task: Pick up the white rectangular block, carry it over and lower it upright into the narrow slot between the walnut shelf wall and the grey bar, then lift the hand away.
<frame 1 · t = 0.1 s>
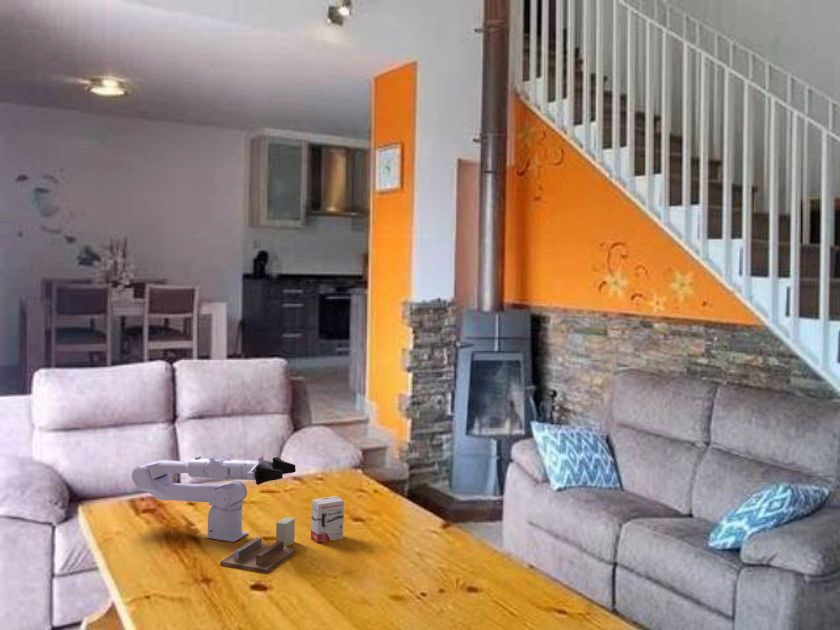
hand: (288, 471, 223), 22 cm above the table, tool horizontal, fingers open, 7 cm apart
ink box: (327, 539, 231), on the table
grey bar: (247, 557, 214), resting on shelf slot
white rectangular block: (285, 544, 225), on the table
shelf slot: (258, 558, 213), on the table
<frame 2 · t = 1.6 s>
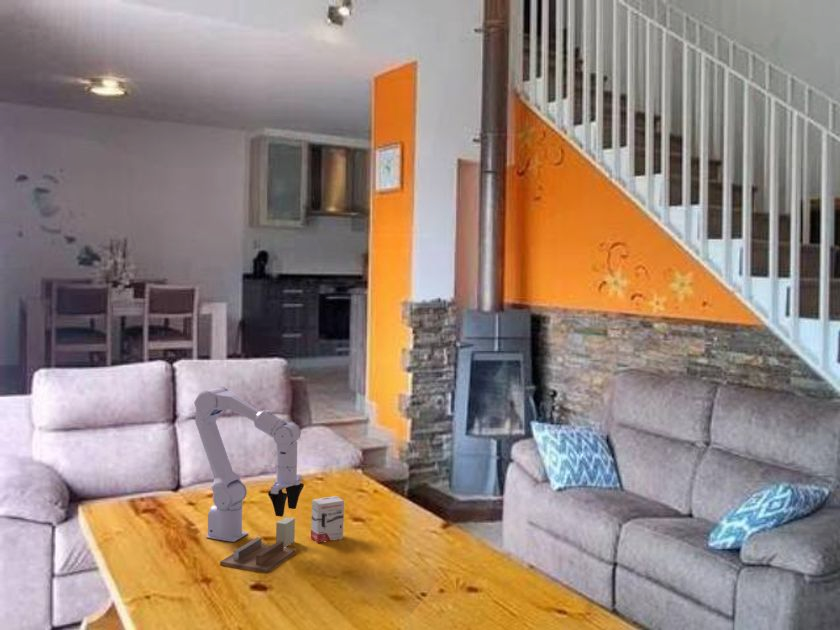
hand: (285, 512, 225), 9 cm above the table, tool pointing down, fingers open, 7 cm apart
nothing on the table moved.
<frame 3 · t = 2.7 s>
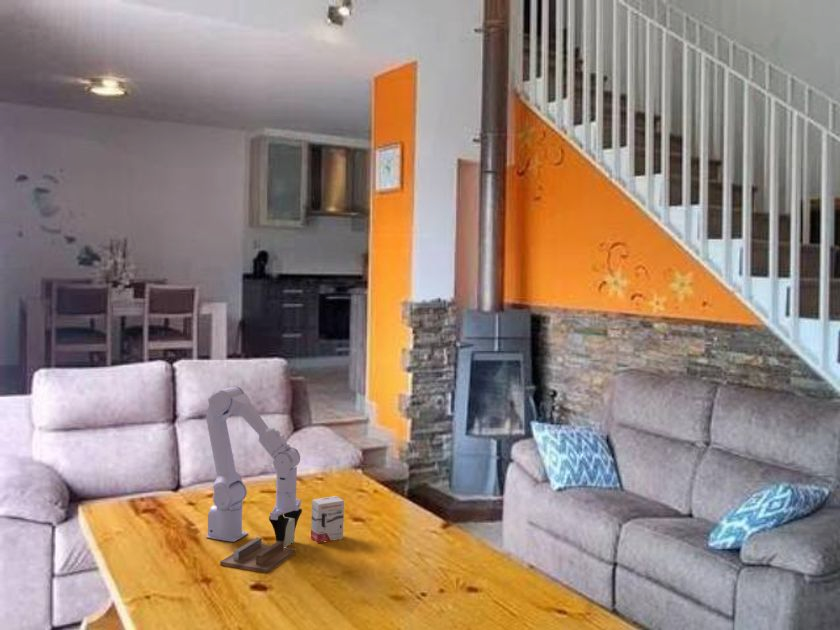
hand: (285, 537, 225), 2 cm above the table, tool pointing down, fingers closed on white rectangular block, 5 cm apart
white rectangular block: (285, 544, 225), on the table, touching gripper
everything else where it was.
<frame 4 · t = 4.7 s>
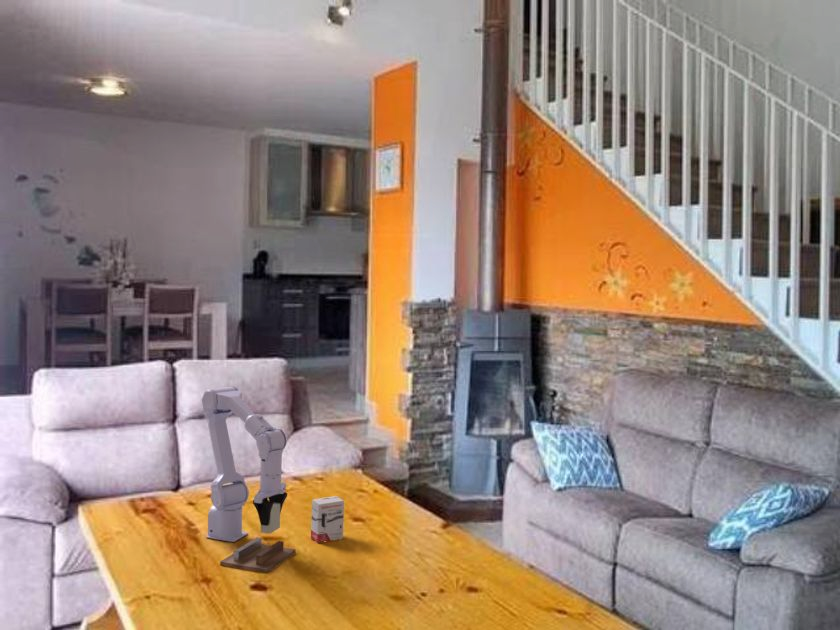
hand: (270, 521, 217), 9 cm above the table, tool pointing down, fingers closed on white rectangular block, 5 cm apart
white rectangular block: (270, 529, 217), point 7 cm above the table, touching gripper
everything else where it was.
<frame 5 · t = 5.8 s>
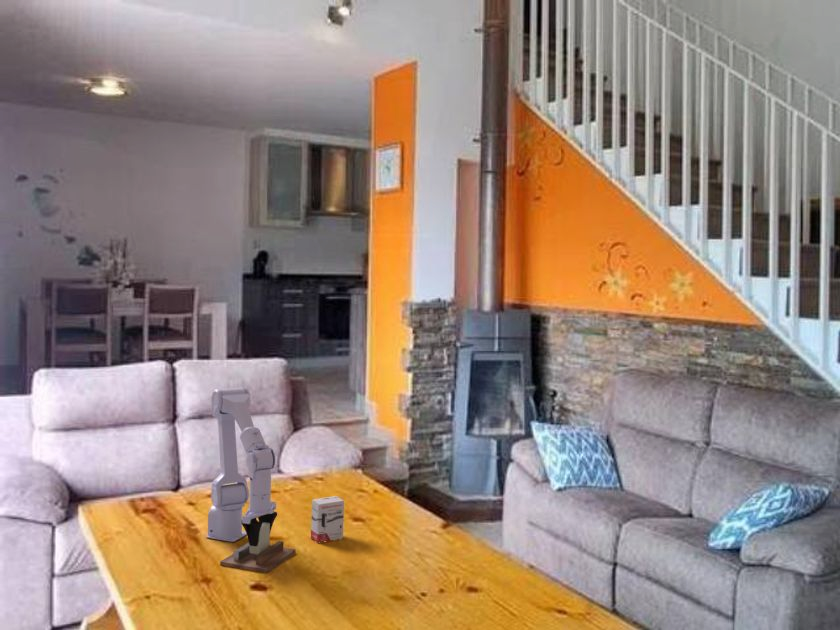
hand: (259, 542, 213), 5 cm above the table, tool pointing down, fingers closed on white rectangular block, 5 cm apart
white rectangular block: (259, 550, 213), point 2 cm above the table, touching gripper
everything else where it was.
when the fingers open (4 cm above the table, at t = 6.5 s): white rectangular block stays where it is, resting on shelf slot.
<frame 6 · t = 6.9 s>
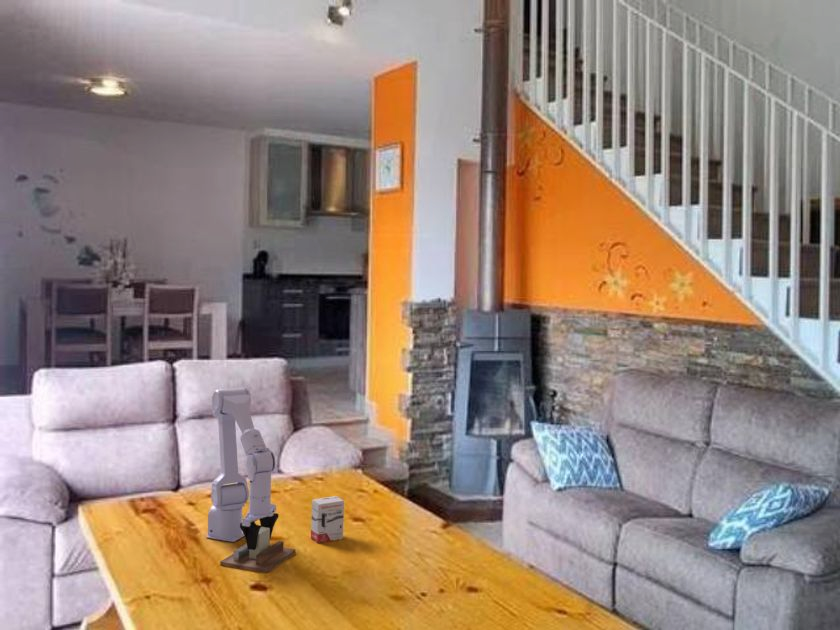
hand: (259, 544, 213), 4 cm above the table, tool pointing down, fingers open, 7 cm apart
white rectangular block: (259, 555, 213), point 1 cm above the table, touching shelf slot
everything else where it was.
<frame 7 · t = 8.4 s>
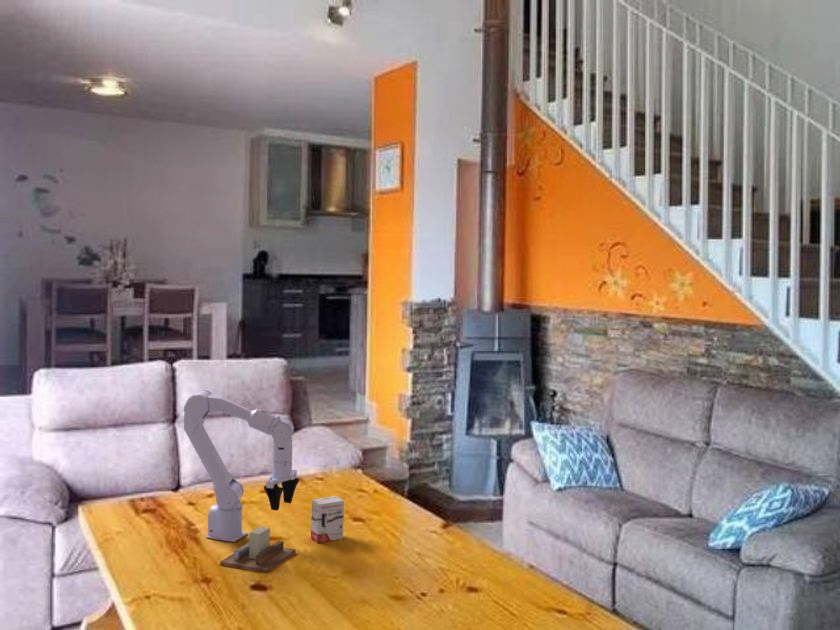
hand: (281, 506, 230), 9 cm above the table, tool pointing down, fingers open, 7 cm apart
nothing on the table moved.
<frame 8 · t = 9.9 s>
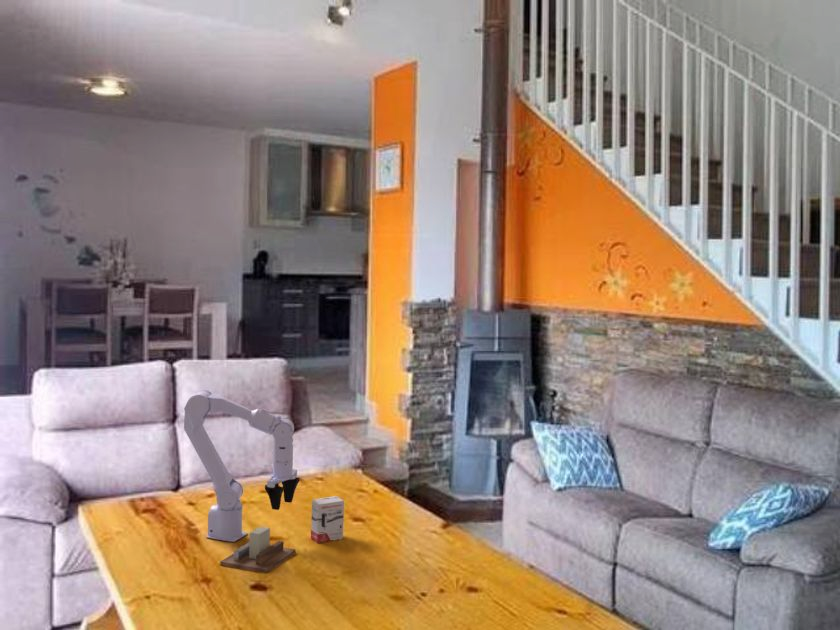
hand: (282, 505, 231), 9 cm above the table, tool pointing down, fingers open, 7 cm apart
nothing on the table moved.
at the end: white rectangular block 0.1 cm from the target spot, point 1.0 cm above the table; white rectangular block tilted 0°; the gripper is holding nothing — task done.
